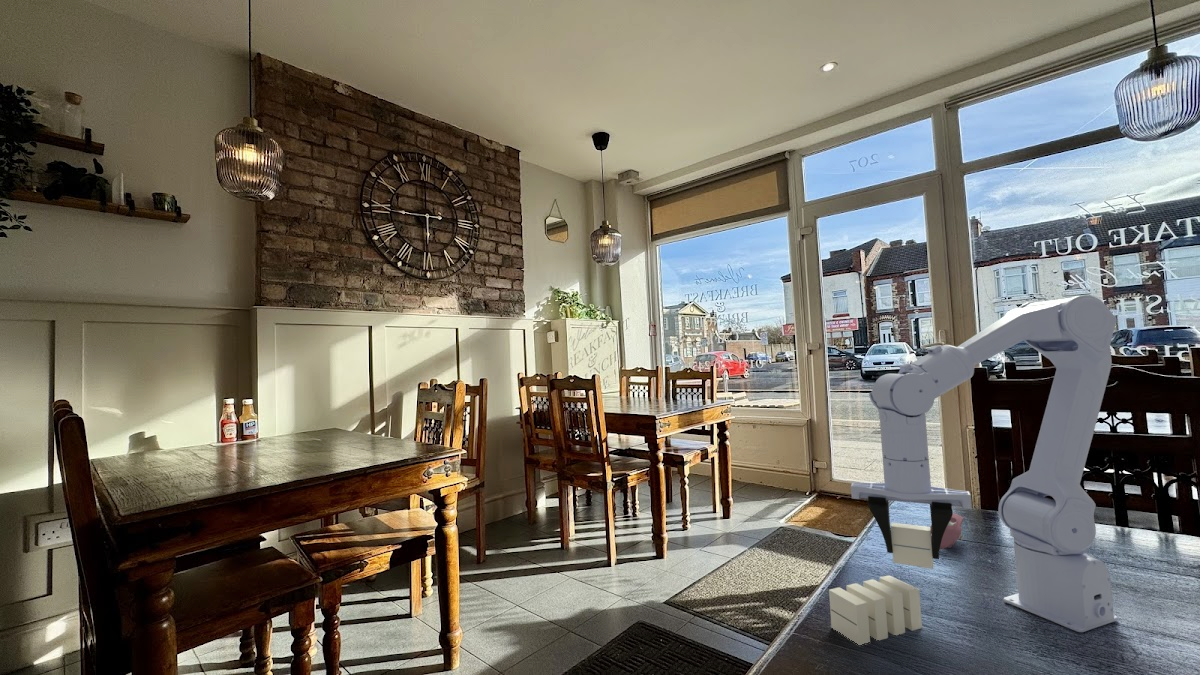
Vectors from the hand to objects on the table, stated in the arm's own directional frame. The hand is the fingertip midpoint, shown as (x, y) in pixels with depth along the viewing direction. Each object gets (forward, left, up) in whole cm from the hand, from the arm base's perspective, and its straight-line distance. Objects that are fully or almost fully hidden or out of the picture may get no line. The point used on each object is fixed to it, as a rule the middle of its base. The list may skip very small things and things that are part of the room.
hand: (912, 553), depth 72 cm
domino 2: (0, +9, -9) cm, 13 cm away
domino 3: (0, +6, -9) cm, 11 cm away
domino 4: (0, 0, -2) cm, 2 cm away
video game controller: (+17, -27, -9) cm, 33 cm away
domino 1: (0, +12, -9) cm, 15 cm away
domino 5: (0, +3, -9) cm, 9 cm away
